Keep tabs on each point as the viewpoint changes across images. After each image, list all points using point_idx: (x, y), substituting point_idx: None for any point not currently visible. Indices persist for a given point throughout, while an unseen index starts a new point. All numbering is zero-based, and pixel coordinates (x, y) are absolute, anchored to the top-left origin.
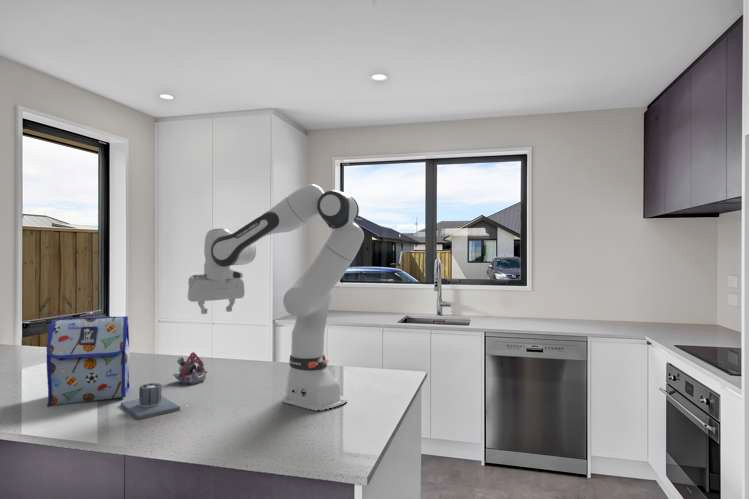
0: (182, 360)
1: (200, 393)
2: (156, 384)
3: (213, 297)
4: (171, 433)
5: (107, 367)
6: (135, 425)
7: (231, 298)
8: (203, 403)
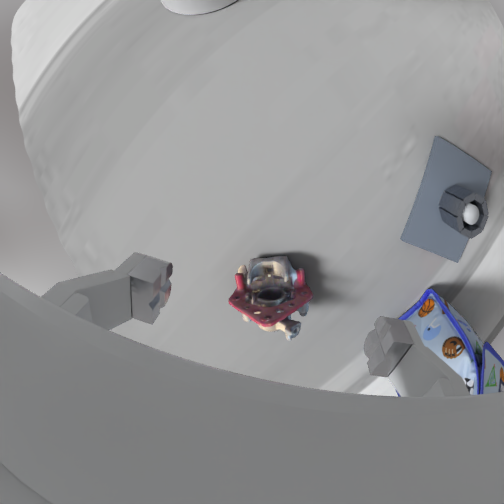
0: (291, 325)
1: (335, 184)
2: (461, 215)
3: (393, 425)
4: (491, 75)
5: (473, 336)
6: (500, 153)
7: (70, 314)
8: (384, 120)
